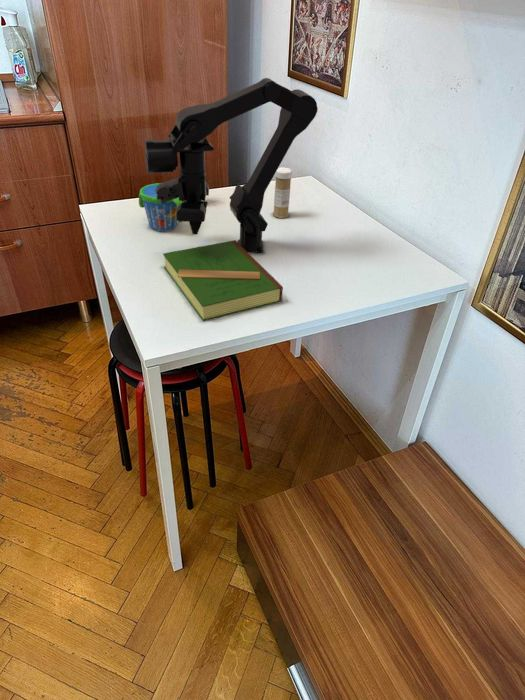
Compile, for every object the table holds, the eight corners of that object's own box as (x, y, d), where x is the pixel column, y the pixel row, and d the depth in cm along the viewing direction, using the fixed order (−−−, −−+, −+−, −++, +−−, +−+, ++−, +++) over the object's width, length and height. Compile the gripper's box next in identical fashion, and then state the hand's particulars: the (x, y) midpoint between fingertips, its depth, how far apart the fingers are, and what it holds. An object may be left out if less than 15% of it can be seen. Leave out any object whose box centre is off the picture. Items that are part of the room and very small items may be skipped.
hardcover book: (281, 301, 112) (282, 286, 109) (202, 321, 104) (202, 305, 102) (233, 252, 129) (233, 238, 126) (163, 266, 121) (161, 252, 119)
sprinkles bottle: (286, 212, 151) (289, 166, 142) (290, 218, 147) (294, 172, 139) (271, 212, 150) (274, 167, 141) (274, 219, 146) (277, 172, 138)
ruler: (179, 270, 113) (179, 269, 112) (259, 273, 114) (259, 271, 113) (177, 277, 110) (177, 276, 110) (259, 280, 111) (260, 278, 111)
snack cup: (130, 222, 140) (125, 186, 133) (160, 212, 146) (158, 177, 140) (165, 241, 132) (162, 204, 125) (196, 230, 138) (195, 193, 132)
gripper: (162, 155, 122) (166, 217, 131) (150, 183, 107) (156, 250, 117) (208, 157, 122) (209, 218, 132) (203, 185, 108) (205, 251, 117)
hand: (195, 233), depth 124 cm, fingers closed
